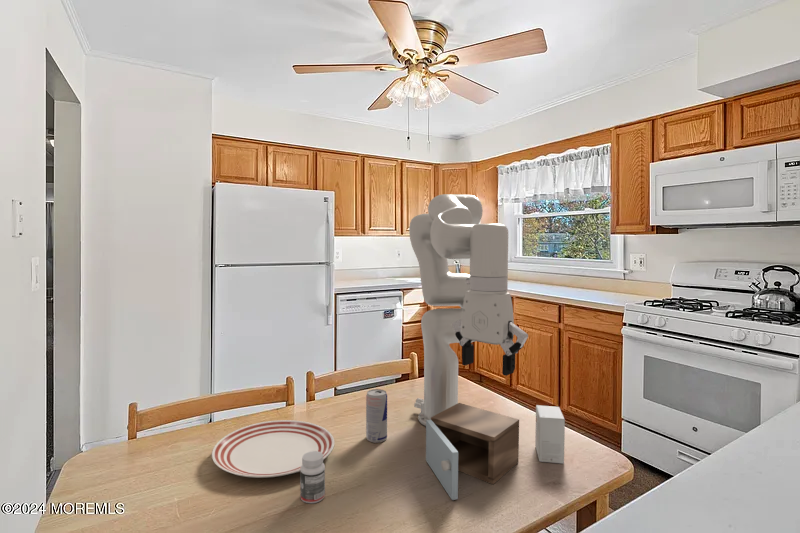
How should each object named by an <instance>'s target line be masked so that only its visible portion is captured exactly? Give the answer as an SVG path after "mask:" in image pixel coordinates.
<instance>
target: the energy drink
mask: <svg viewBox="0 0 800 533" xmlns="http://www.w3.org/2000/svg"><path fill="white" fill-rule="evenodd" d="M365 405H366V406H365V411H366V412H365V413H366V414H365V415H366V416H365V417H366V418H365V422H366V423H365V425H366V426H365V434H366V435H365V437H366V440H367V441H369V442H370V443H373V444H375V443H376V444H377V443H383V442H385V441H386V440H387V439H388V394H387V390H384V389H379V388H375V389H374V388H373V389H369V390H368V391H367V392H366V396H365Z"/></svg>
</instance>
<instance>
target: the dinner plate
mask: <svg viewBox="0 0 800 533" xmlns="http://www.w3.org/2000/svg"><path fill="white" fill-rule="evenodd" d="M334 447H335V438H334V436H333V434H332V433H331V432H330V431H329V429H326V428H325V427H323V426H321V425H318V424H315V423H313V422H308V421H302V420H293V419H291V420H290V419H286V420H285V419H284V420H283V419H282V420H281V419H279V420H269V421H261V422H257V423H253V424H250V425H249V424H248V425H247V426H243V427H241V428H238V429H236V430H234V431H232V432H229V433H228V434H226V435H225V436H223V437H222V438H220V440H218V442H217V443H215V445H214V446H213V448H212V451H211V459H212V461H213V463H214V464H215V465H216V466H217V467H218V468H219V469H221V470H223V471H224V472H227V473H230V474H233V475H236V476H238V477H239V476H240V477H245V478H257V479H258V478H262V479H263V478H275V477H282V476H286V475H292V474H295V473H300V468H301V465H302V457H303V455H304V454H305V453H308V452H312V451H318V452H321V453H322V454H323V461H324V460H325V459H326V458H327V457H328V456H329V455H331V453H332V452H333V450H334Z"/></svg>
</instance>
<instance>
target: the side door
mask: <svg viewBox="0 0 800 533" xmlns="http://www.w3.org/2000/svg"><path fill="white" fill-rule="evenodd" d="M425 461H426V463H427V464H428V466H429V467H430V469H431V470H432V472H433V473H434V476H435V477H436V478H437V479H438V481H439V482H440V484H441V486H442V488H443V489H444V490H445V491H446V493H447V494H448V496H449V498H450V500H452V501H454V500H458V499H459V471H458V451H457V450H456V449H455V447H454V446H453V445H452V444H451V443H450V441H449V440H448V439H447V438H446V437H445V435H444V434H443V433H442V432H441V431H440V430H439V428H438V427H437V426H436V425H435V424H434V422H433V421H432V420H426V426H425Z"/></svg>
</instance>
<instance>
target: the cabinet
mask: <svg viewBox="0 0 800 533" xmlns="http://www.w3.org/2000/svg"><path fill="white" fill-rule="evenodd" d="M431 420H432V421H433V422H434V424H435V425H436V426H437V427H438V428H439V430H440V431H441V432H442V433H443V434H444V435H445V437H446V438H447V439H448V440H449V441H450V443H451V444H452V445H453V446H454V447H455V449H456V450H457V451H458V472H461V473H463V474H466V475H468V476H471V477H473V478H476V479H478V480H480V481H483V482H485V483H488V484H492V485H494V484H496V482H498V481H500V479H501V478H503V476H505V475H506V474H507V473H508V472H509V471H510V470H512V468H514V467H515V466H516V465H517V464H519V458H520V457H519V456H520V454H519V448H520V443H519V442H520V418H515V417H512V416H509V415H508V416H507V415H504V414H500V413H497V412H493V411H491V410H487V409H482V408H479V407H476V406H472V405H468V404H465V403H461V402H458V404H456V405H454V406H452V407H450V408H448V409H446V410H444V411H442V412H440V413H438V414H436V415H434V416H433V417H431Z"/></svg>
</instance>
